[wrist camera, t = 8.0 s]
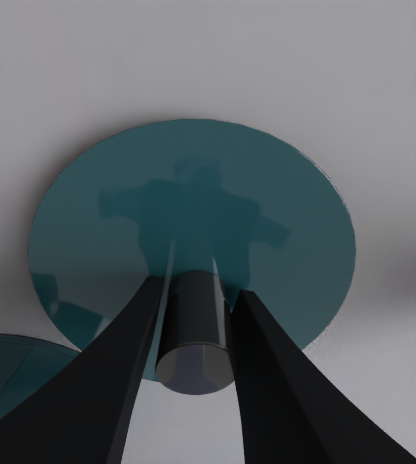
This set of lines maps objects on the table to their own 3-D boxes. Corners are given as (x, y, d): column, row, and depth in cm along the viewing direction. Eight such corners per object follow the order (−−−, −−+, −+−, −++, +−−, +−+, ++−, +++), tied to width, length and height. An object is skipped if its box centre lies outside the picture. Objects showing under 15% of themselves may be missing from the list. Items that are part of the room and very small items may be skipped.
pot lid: (403, 166, 9) (581, 204, 5) (279, 375, 15) (310, 471, 11) (24, 70, 7) (-226, -5, 3) (57, 354, 13) (-8, 461, 9)
